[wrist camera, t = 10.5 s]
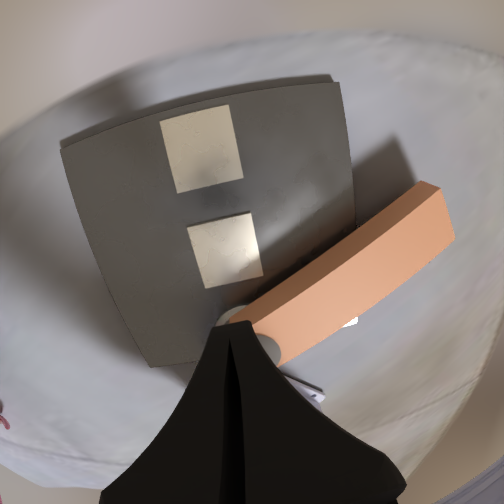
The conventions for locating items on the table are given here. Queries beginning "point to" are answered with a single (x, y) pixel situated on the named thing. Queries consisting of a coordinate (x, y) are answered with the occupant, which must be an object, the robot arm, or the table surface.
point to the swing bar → (351, 274)
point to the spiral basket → (3, 421)
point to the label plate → (212, 207)
